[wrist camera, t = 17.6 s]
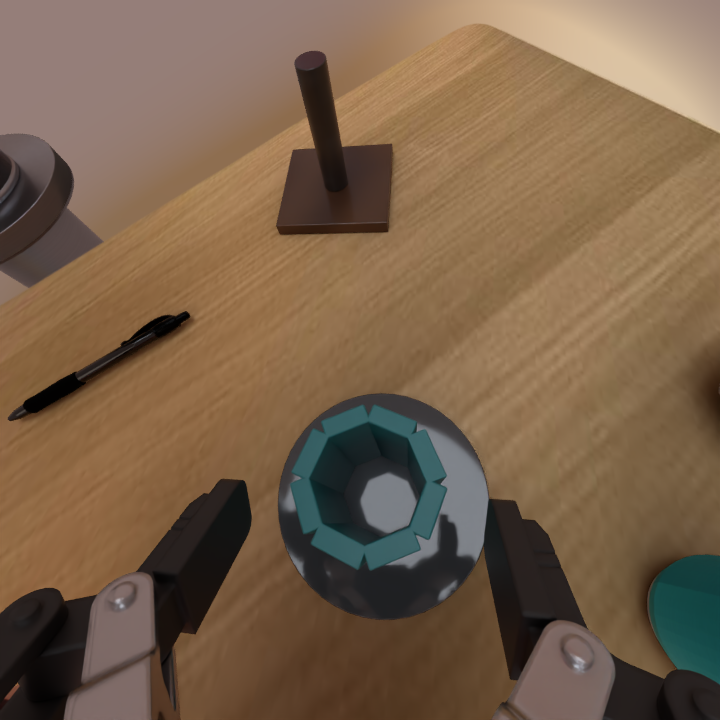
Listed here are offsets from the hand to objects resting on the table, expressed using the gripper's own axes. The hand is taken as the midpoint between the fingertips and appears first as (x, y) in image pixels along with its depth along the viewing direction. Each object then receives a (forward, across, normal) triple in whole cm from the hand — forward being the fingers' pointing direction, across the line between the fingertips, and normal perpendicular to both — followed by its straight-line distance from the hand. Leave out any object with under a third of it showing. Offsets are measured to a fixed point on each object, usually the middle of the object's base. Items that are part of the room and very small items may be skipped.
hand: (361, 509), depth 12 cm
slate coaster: (+8, 0, +6) cm, 10 cm away
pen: (+13, +21, +1) cm, 25 cm away
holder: (+25, +5, -11) cm, 28 cm away
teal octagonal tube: (+7, 0, +6) cm, 9 cm away
